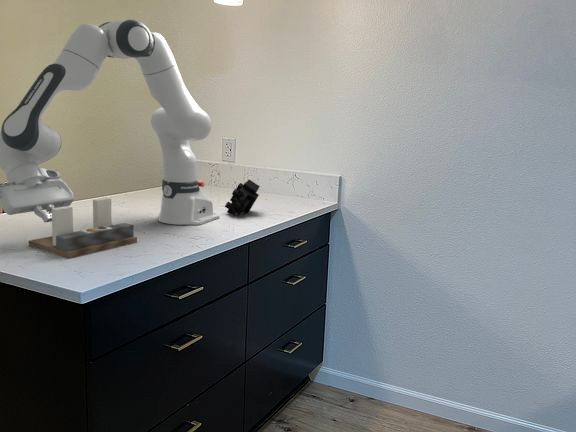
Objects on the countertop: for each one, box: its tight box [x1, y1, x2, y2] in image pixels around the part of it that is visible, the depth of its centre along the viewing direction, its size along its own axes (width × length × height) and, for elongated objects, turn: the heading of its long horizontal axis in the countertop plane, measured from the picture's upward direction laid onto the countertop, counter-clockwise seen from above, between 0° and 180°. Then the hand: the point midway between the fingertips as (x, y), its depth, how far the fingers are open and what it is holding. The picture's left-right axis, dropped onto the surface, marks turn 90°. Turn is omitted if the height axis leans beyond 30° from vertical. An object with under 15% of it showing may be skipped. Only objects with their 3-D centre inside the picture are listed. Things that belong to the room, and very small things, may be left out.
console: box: [27, 222, 138, 259], centre depth 163 cm, size 23×18×6 cm
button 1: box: [51, 206, 74, 246], centre depth 155 cm, size 5×2×10 cm, turn 147°
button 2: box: [92, 197, 113, 228], centre depth 170 cm, size 5×2×10 cm, turn 147°
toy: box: [224, 179, 261, 217], centre depth 214 cm, size 12×8×15 cm
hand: (50, 220), depth 158 cm, fingers closed
